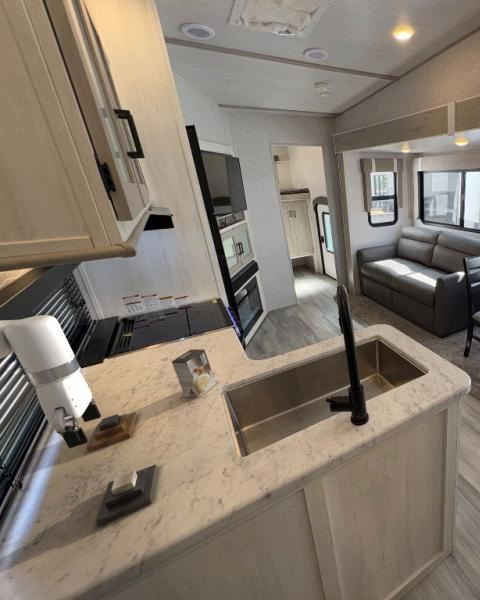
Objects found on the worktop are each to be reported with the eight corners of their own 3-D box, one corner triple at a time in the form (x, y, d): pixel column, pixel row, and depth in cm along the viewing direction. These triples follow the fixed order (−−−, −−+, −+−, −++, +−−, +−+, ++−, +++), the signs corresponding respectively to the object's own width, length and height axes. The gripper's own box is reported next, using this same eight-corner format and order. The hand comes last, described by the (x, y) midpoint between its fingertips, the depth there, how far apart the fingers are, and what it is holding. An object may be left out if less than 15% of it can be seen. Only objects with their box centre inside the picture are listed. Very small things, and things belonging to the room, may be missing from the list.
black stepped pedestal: (99, 528, 71) (92, 516, 69) (111, 488, 80) (105, 477, 79) (152, 504, 75) (147, 493, 74) (158, 469, 85) (153, 459, 84)
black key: (101, 431, 96) (98, 426, 95) (104, 423, 99) (102, 418, 98) (117, 426, 98) (115, 420, 97) (120, 418, 101) (118, 413, 100)
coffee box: (202, 383, 124) (191, 348, 118) (216, 384, 123) (205, 348, 117) (184, 398, 115) (170, 361, 110) (199, 399, 114) (186, 361, 109)
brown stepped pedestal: (89, 453, 92) (83, 443, 91) (100, 429, 102) (95, 419, 101) (131, 438, 97) (126, 428, 96) (137, 416, 107) (133, 407, 105)
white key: (114, 496, 74) (111, 490, 73) (118, 484, 77) (114, 478, 77) (135, 488, 76) (132, 482, 75) (137, 476, 79) (135, 470, 78)
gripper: (48, 358, 73) (78, 416, 79) (8, 397, 59) (49, 464, 65) (90, 349, 77) (116, 405, 83) (61, 384, 62) (95, 448, 68)
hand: (86, 431), depth 74 cm, fingers open, 9 cm apart
